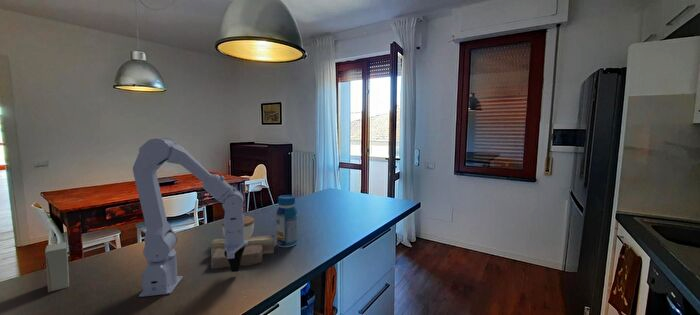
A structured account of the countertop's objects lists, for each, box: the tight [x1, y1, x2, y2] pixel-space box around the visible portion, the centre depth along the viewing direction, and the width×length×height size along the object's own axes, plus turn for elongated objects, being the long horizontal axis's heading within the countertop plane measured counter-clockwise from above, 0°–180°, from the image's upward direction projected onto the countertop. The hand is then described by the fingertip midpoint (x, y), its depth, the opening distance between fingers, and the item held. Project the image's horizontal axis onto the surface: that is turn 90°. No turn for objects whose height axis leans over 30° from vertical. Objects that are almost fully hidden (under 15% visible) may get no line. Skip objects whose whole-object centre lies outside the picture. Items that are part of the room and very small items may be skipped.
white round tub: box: [221, 215, 255, 238], centre depth 117 cm, size 13×13×11 cm
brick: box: [210, 244, 264, 269], centre depth 99 cm, size 17×8×5 cm, turn 104°
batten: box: [210, 235, 275, 259], centre depth 106 cm, size 4×22×6 cm, turn 102°
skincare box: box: [44, 241, 70, 293], centre depth 82 cm, size 6×4×12 cm
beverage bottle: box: [275, 194, 298, 248], centre depth 114 cm, size 8×8×20 cm
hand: (235, 270), depth 89 cm, fingers closed
